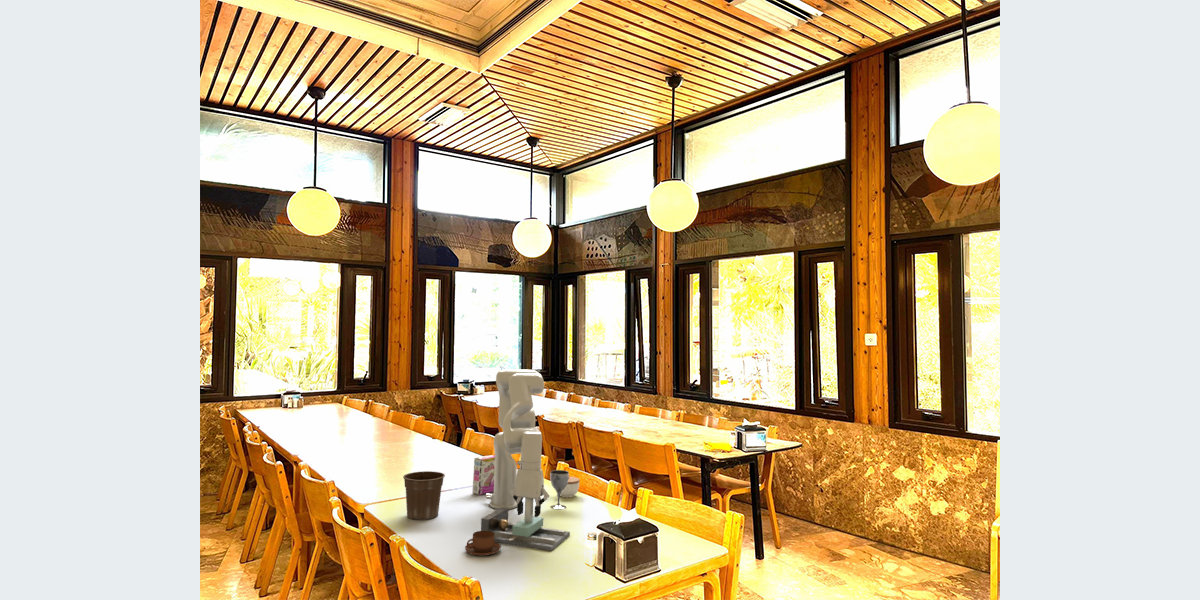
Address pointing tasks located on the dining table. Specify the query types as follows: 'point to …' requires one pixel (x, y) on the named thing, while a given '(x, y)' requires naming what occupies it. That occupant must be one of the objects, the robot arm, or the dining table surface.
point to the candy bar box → (483, 475)
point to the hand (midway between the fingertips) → (528, 514)
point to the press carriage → (528, 521)
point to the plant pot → (423, 494)
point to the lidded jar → (570, 487)
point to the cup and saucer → (482, 544)
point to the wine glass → (559, 484)
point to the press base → (537, 540)
